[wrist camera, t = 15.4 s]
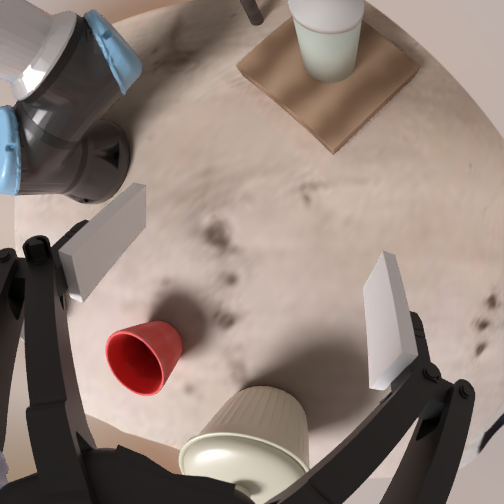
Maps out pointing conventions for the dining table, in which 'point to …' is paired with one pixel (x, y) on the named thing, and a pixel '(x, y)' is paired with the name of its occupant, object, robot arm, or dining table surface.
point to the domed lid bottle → (328, 36)
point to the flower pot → (144, 356)
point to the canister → (252, 444)
